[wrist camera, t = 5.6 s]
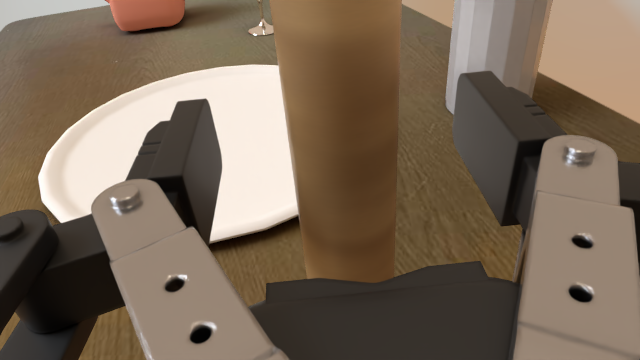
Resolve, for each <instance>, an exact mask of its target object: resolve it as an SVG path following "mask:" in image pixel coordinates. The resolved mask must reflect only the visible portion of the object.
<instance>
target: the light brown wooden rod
mask: <svg viewBox="0 0 640 360" xmlns="http://www.w3.org/2000/svg"><path fill="white" fill-rule="evenodd" d="M269 1H270V8H271V16H272V23H273V30H274V38H275V45H276V52H277V60H278V67H279V75H280V82H281V89H282V97H283V104H284V112H285V119H286V126H287V134H288V141H289V148H290V156H291V163H292V171H293V178H294V185H295V193H296V200H297V207H298V215H299V222H300V230H301V237H302V244H303V252H304V259H305V267H306V274H307V279H313V278H326V279H337V280H347V281H357V282H368V283H377V282H382V281H385V280H388V279H391V278H394V258H395V222H396V186H397V149H398V113H399V76H400V40H401V4H402V0H269Z"/></svg>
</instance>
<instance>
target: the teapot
mask: <svg viewBox="0 0 640 360" xmlns="http://www.w3.org/2000/svg"><path fill="white" fill-rule="evenodd" d="M105 1H107V2H108V3H110V6H111V10H112V14H113V17H114V20H115V22H116V23H117V25H118V26H119V28H120V29H121V30H122V31H138V30H141V29H148V28H155V27H162V26H163V27H169V26H173V25H175V24H177V23H179V22H180V21H181V19H182V17H183V16H184V10H185V0H105Z"/></svg>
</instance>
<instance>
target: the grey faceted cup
mask: <svg viewBox="0 0 640 360" xmlns="http://www.w3.org/2000/svg"><path fill="white" fill-rule="evenodd" d="M552 1H553V0H455V3H454V13H453V24H452V35H451V46H450V56H449V67H448V78H447V89H446V101H445V104H446V107H447V109H448V110H449V111H450V112H451V113H452V114H454V109H455V99H456V90H457V82H458V78H459V76H460V74H461V73H470V72H480V71H489V70H490V71H492V72H493V73H494V74H495V75H496V77H497V78H498V79H499V80H500V81H501V82H502V83H503V84H504V85H505V86H506V87H513V88H515V89H517V90H519V91H521V92H523V93H526V94H528V95H529V96H530V97H531V98H532V95H533V90H534V86H535V81H536V76H537V72H538V67H539V62H540V57H541V53H542V48H543V44H544V38H545V34H546V29H547V24H548V20H549V15H550V11H551V6H552Z"/></svg>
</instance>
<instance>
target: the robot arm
mask: <svg viewBox="0 0 640 360" xmlns="http://www.w3.org/2000/svg"><path fill="white" fill-rule="evenodd" d="M453 140H454V144H455V147H456V149H457V151H458V153H459V154H460V156H461V158H462V160H463V161H464V163H465V165H466V167H467V168H468V170H469V172H470V173H471V175H472V177H473V179H474V180H475V182H476V184H477V186H478V187H479V189H480V191H481V192H482V194H483V196H484V198H485V199H486V201H487V203H488V205H489V206H490V208H491V210H492V211H493V213H494V215H495V217H496V218H497V220H498V222H499V224H500V225H501V226H510V225H519V224H520V225H521V226H522V228H523V229H522V233H521V237H520V241H519V247H518V252H517V258H516V263H515V269H514V274H513V280H512V281H509V280H504V279H499V278H493V277H488V276H487V274H486V272H485V270H484V268H483V266H482V264H481V261H474V262H465V263H455V264H446V265H436V266H428V267H424V268H421V269H418V270H415V271H412V272H409V273H406V274H403V275H400V276H397V277H394V278H391V279H388V280H385V281H382V282H377V283H368V282H357V281H347V280H337V279H326V278H313V279H303V280H294V281H284V282H274V283H266V300H264V301H262V302H259V303H256V304H254V305H252V306H249V307H248V306H247V305H246V303H245V302H244V300H243V299H242V297H241V296H240V294H239V293H238V292H237V290H236V289H235V287H234V286H233V284H232V283H231V281H230V280H229V278H228V277H227V275H226V274H225V272H224V271H223V269H222V268H221V266H220V265H219V263H218V262H217V260H216V259H215V257H214V256H213V254H212V253H211V251H210V250H209V248H208V247H209V242H210V236H211V231H212V225H213V219H214V214H215V208H216V203H217V197H218V191H219V186H220V180H221V174H222V156H221V150H220V146H219V141H218V137H217V133H216V129H215V125H214V121H213V116H212V112H211V108H210V105H209V102H208V100H207V99H206V98H205V99H195V100H185V101H178V102H177V103H176V106H175V108H174V111H173V113H172V116H171V118H170V120H169V121H160V122H159V123H158V124H156V125H155V126H154V127H153V128H152V129H151V130H149V131H148V132H147V134H146V136H145V139H144V141H143V143H142V146H141V147H140V149H139V152H138V155H137V156H136V158H135V160H134V162H133V165H132V167H131V169H130V171H129V173H128V175H127V178H126V180H125V181H123V182H120V183H117V184H115V185H113V186H111V187H109V188H107V189H106V190H104V191H103V192H101V193H100V194H99V195H98V196H97V197H96V198H95V200H94V201H93V203H92V205H91V212H92V213H91V214H89V215H86V216H83V217H80V218H77V219H73V220H70V221H67V222H63V223H60V224H57V225H53V226H52V224H51V223H50V221H49V219H48V217H47V216H46V214H45V213H43V212H41V211H38V210H21V211H16V212H12V213H9V214H6V215H4V216H1V217H0V335H1V333H2V331H3V329H4V328H5V326H6V324H7V323H8V321H9V320H10V318H11V317H12V315H13V314H14V312H16V314H17V315H18V316H19V318H20V321H19V323H18V324H17V326H16V327H15V329H14V331H13V332H12V334H11V335H10V337H9V338H8V340H7V342H6V343H5V345H4V346H3V348H2V349H1V351H0V360H78V359H79V357H80V355H81V352H82V350H83V348H84V346H85V344H86V342H87V340H88V338H89V336H90V334H91V331H92V329H93V327H94V325H95V323H96V321H97V318H98V316H99V315H101V314H104V313H107V312H110V311H112V310H115V309H118V308H121V307H123V306H126V307H127V310H128V313H129V315H130V318H131V320H132V323H133V325H134V328H135V330H136V333H137V336H138V338H139V341H140V343H141V346H142V348H143V351H144V354H145V356H146V359H147V360H640V163H630V162H620V161H618V159H617V155H616V153H615V152H614V151H613V150H612V149H611V148H610V147H609V146H607V145H606V144H604V143H602V142H600V141H597V140H594V139H591V138H588V137H583V136H575V135H567V134H566V133H565V132H564V131H563V130H562V129H561V128H560V127H559V126H558V125H557V124H556V123H555V122H554V121H553V120H552V119H551V118H550V117H549V116H548V115H545V112H544V111H543V110H542V109H541V108H540V107H539V106H537V104H536V103H535V101H534V100H533V99H532V98H531V97H530V96H529V95H528V94H526V93H523V92H521V91H519V90H517V89H515V88H513V87H506V86H505V85H504V84H503V83H502V82H501V81H500V80H499V79H498V78H497V77H496V75H495V74H494V73H493V72H492V71H490V70H489V71H480V72H470V73H461V74H460V76H459V78H458V82H457V90H456V99H455V109H454V118H453Z"/></svg>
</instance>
